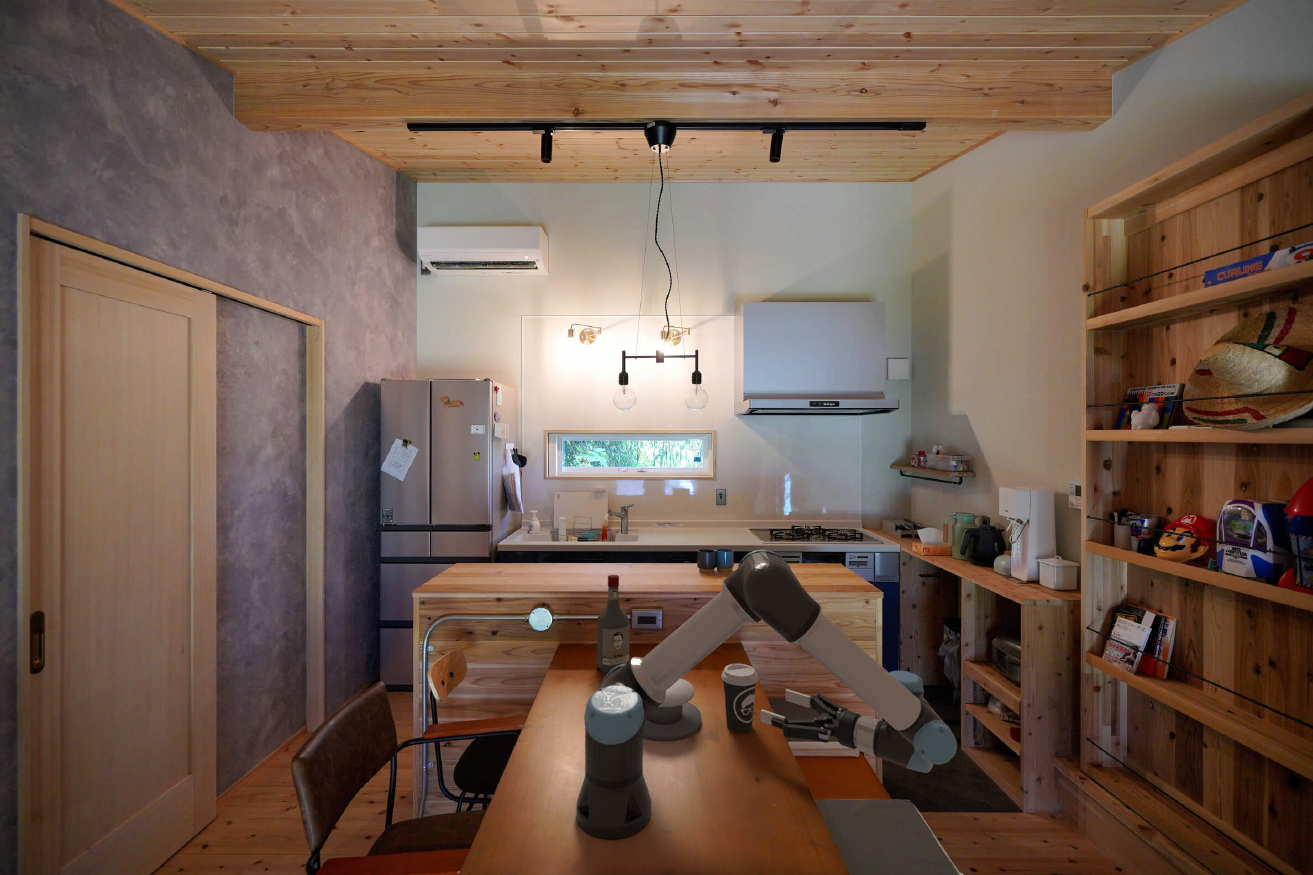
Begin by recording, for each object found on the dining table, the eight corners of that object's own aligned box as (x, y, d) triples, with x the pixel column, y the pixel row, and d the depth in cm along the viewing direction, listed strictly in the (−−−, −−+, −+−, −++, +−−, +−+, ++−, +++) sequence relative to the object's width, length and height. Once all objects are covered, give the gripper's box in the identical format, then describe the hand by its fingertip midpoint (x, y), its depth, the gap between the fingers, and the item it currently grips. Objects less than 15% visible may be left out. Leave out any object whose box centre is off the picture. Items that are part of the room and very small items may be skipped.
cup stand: (698, 743, 140) (698, 709, 140) (619, 737, 143) (619, 703, 143) (703, 705, 160) (703, 675, 160) (634, 700, 163) (634, 670, 163)
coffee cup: (756, 718, 153) (756, 663, 152) (759, 737, 143) (759, 678, 143) (720, 716, 154) (721, 661, 153) (721, 735, 144) (721, 676, 144)
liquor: (595, 664, 187) (595, 574, 187) (620, 660, 191) (621, 571, 191) (604, 675, 179) (604, 581, 179) (631, 670, 183) (631, 578, 183)
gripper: (838, 774, 119) (749, 740, 132) (876, 726, 139) (795, 700, 152) (838, 739, 119) (749, 708, 132) (876, 695, 139) (795, 672, 152)
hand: (774, 704), depth 142 cm, fingers open, 13 cm apart
